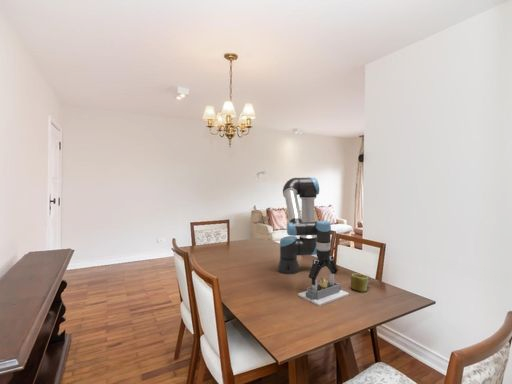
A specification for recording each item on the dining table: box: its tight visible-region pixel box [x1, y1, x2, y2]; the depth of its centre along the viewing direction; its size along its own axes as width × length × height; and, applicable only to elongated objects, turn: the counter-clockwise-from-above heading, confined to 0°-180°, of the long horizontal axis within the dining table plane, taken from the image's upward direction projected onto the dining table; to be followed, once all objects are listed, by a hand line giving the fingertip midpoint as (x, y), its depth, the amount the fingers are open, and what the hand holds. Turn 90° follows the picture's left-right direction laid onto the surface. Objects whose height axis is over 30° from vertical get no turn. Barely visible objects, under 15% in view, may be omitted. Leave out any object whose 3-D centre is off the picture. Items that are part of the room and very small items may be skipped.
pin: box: [319, 277, 329, 290], centre depth 153 cm, size 4×4×8 cm
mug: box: [350, 273, 371, 293], centre depth 160 cm, size 12×10×10 cm
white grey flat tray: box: [297, 280, 350, 307], centre depth 153 cm, size 16×23×5 cm
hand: (323, 287), depth 153 cm, fingers open, 13 cm apart
